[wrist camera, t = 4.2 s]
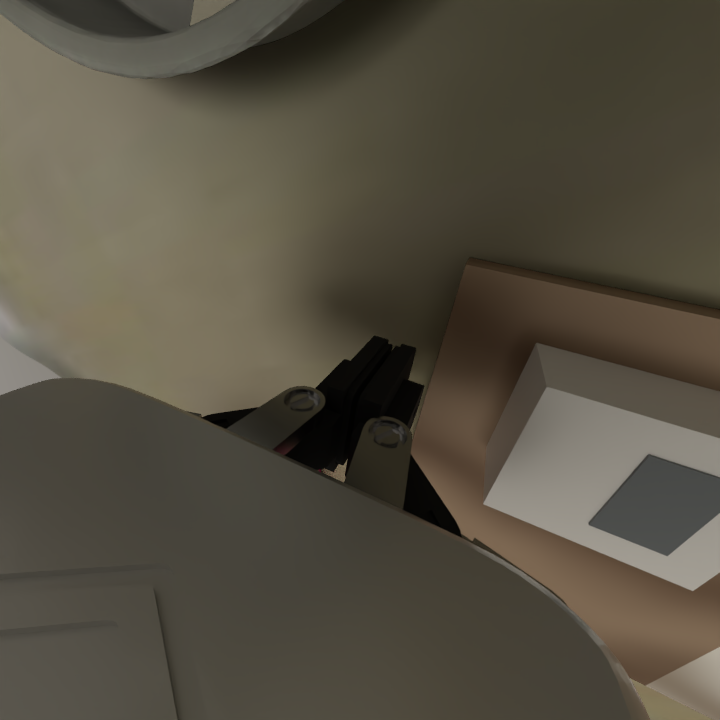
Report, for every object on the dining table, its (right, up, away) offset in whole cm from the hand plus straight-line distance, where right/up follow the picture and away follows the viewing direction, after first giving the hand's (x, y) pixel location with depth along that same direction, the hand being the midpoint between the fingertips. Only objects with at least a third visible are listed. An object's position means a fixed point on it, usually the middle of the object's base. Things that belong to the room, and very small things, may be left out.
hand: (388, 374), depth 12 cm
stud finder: (+7, -2, -1) cm, 8 cm away
